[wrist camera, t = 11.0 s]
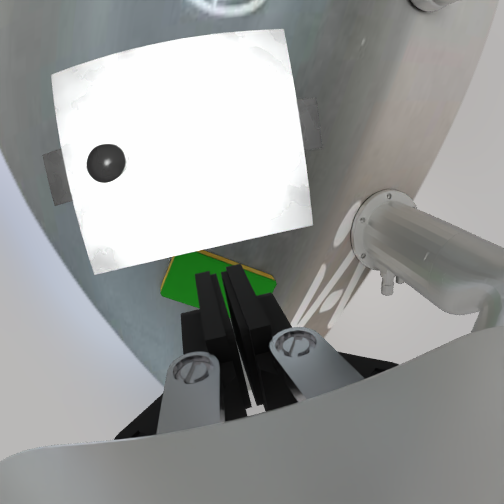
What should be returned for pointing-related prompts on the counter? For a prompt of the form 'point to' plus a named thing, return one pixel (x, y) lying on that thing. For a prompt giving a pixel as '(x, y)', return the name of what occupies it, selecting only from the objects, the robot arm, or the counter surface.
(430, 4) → the plastic bottle
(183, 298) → the dish sponge
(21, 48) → the counter surface
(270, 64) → the lid
